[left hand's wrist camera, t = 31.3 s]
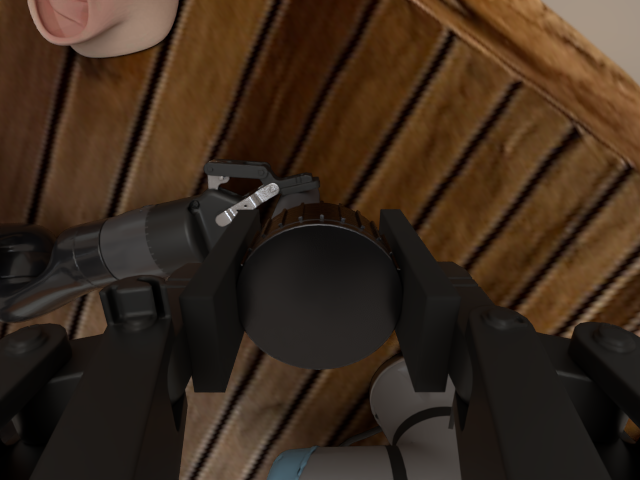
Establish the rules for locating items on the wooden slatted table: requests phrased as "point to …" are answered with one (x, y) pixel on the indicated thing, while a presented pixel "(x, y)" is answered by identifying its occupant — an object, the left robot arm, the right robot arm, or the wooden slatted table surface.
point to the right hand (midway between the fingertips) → (323, 205)
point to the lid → (319, 287)
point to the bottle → (296, 200)
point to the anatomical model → (104, 24)
